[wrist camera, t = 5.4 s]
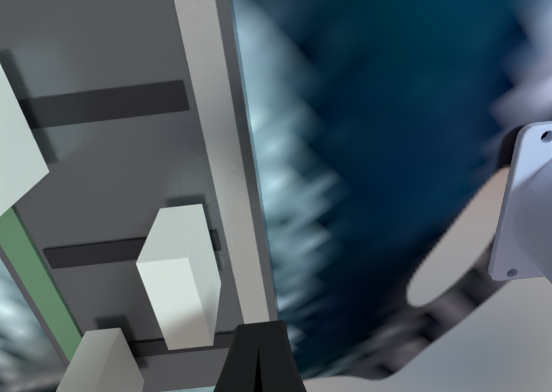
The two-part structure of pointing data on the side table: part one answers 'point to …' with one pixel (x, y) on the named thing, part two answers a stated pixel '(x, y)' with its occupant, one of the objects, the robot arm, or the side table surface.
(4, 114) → the block
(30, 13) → the breaker panel
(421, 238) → the side table surface
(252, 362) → the robot arm
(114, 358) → the block
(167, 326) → the block
